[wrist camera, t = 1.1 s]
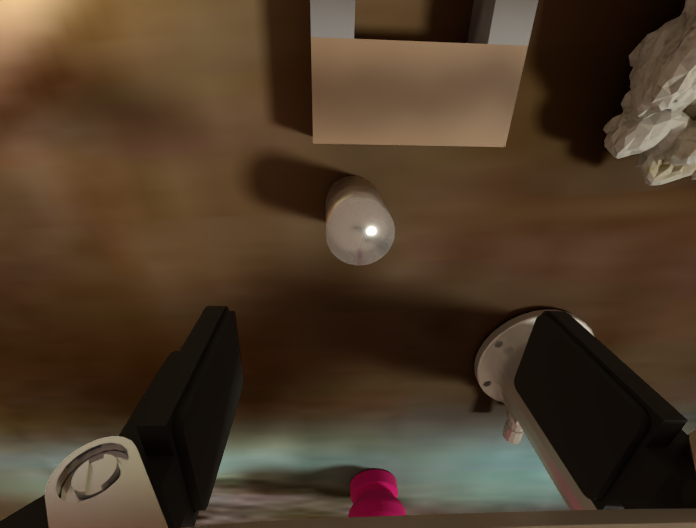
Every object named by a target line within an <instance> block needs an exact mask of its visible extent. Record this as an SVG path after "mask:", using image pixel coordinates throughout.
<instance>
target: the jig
mask: <svg viewBox="0 0 696 528" xmlns="http://www.w3.org/2000/svg"><path fill="white" fill-rule="evenodd" d="M537 5H538V0H474V1H473V8H472V14H471V20H470V27H469V33H468V40H467V43H449V42H424V41H399V40H373V39H354V28H355V0H310V19H311V67H312V114H313V143H317V144H372V145H427V146H481V147H505V145H506V141H507V137H508V132H509V128H510V123H511V119H512V115H513V110H514V106H515V101H516V97H517V93H518V88H519V84H520V79H521V75H522V71H523V66H524V62H525V57H526V53H527V49H528V44H529V40H530V35H531V31H532V27H533V22H534V18H535V13H536V9H537Z"/></svg>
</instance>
